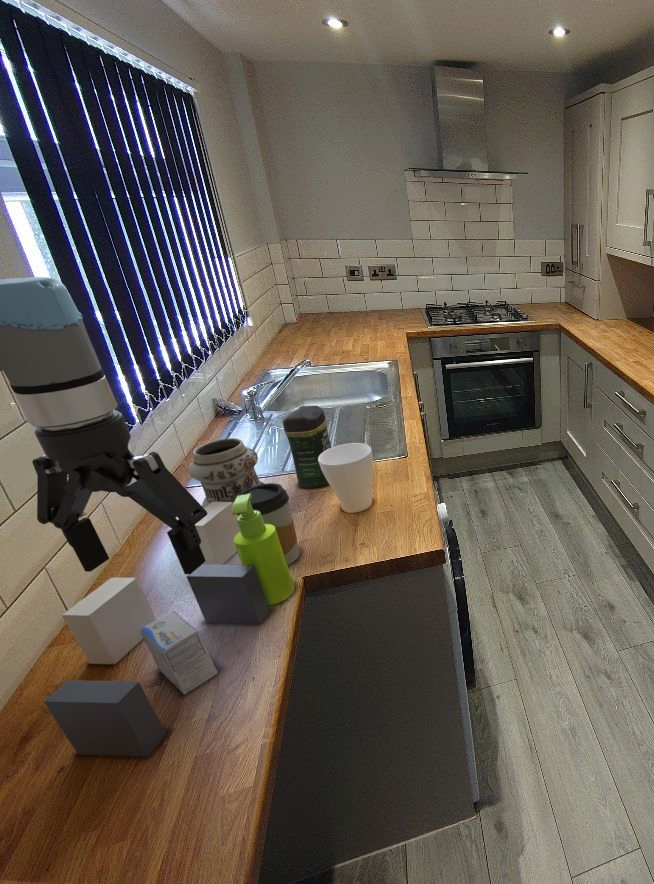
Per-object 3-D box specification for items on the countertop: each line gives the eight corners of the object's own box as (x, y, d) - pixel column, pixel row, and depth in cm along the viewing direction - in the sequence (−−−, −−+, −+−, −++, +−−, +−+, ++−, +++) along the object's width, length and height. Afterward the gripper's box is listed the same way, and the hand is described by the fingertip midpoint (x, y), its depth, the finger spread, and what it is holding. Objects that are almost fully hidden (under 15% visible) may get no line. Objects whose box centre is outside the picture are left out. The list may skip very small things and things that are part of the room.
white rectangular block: (90, 666, 78) (61, 615, 74) (136, 626, 85) (111, 577, 81) (116, 667, 78) (88, 615, 74) (159, 626, 85) (136, 577, 81)
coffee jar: (330, 489, 125) (311, 417, 117) (295, 491, 124) (273, 419, 116) (343, 469, 133) (327, 401, 126) (311, 471, 133) (292, 403, 125)
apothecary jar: (243, 503, 119) (218, 431, 112) (289, 509, 117) (267, 435, 109) (196, 534, 108) (165, 457, 101) (246, 541, 106) (217, 462, 98)
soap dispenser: (253, 616, 87) (214, 514, 79) (259, 590, 93) (224, 492, 84) (293, 606, 89) (259, 505, 81) (296, 581, 95) (265, 485, 86)
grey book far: (206, 625, 85) (185, 576, 81) (219, 611, 88) (200, 563, 84) (260, 626, 85) (242, 577, 81) (271, 612, 88) (254, 564, 83)
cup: (384, 492, 123) (373, 440, 117) (381, 515, 114) (369, 460, 108) (335, 499, 120) (321, 446, 115) (329, 524, 111) (313, 468, 105)
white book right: (199, 570, 98) (180, 525, 94) (228, 544, 105) (212, 501, 101) (220, 570, 98) (202, 525, 94) (247, 544, 105) (232, 501, 101)
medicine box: (219, 675, 76) (200, 630, 72) (184, 698, 73) (162, 652, 69) (194, 652, 80) (174, 609, 76) (160, 673, 77) (137, 628, 73)
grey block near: (79, 757, 65) (43, 701, 61) (101, 734, 68) (67, 679, 64) (149, 759, 65) (117, 703, 61) (168, 736, 68) (139, 681, 63)
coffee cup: (298, 542, 105) (278, 477, 99) (312, 560, 100) (292, 493, 94) (251, 561, 100) (227, 493, 94) (263, 581, 95) (238, 511, 88)
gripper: (205, 407, 63) (255, 550, 72) (11, 405, 64) (84, 546, 73) (153, 432, 56) (216, 588, 65) (-63, 430, 58) (27, 582, 66)
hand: (146, 566), depth 69 cm, fingers open, 13 cm apart
